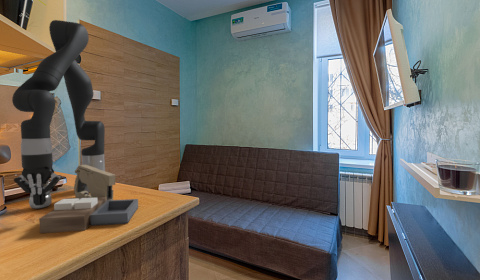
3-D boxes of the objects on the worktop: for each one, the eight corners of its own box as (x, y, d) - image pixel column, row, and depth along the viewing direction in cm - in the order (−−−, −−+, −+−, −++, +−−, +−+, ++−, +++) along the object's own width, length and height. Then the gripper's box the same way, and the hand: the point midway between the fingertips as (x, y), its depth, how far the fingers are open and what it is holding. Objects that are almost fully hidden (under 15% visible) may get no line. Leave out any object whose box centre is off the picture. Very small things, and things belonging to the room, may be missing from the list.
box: (107, 209, 87) (106, 200, 87) (138, 207, 89) (138, 198, 89) (90, 225, 74) (90, 215, 73) (127, 223, 76) (127, 213, 75)
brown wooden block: (72, 210, 86) (71, 198, 86) (107, 208, 88) (106, 197, 88) (40, 233, 68) (39, 218, 68) (84, 230, 71) (84, 215, 70)
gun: (72, 197, 100) (72, 163, 98) (80, 195, 103) (81, 162, 101) (107, 213, 89) (108, 175, 87) (115, 210, 92) (116, 174, 90)
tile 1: (63, 204, 79) (62, 199, 79) (79, 203, 80) (79, 198, 80) (54, 210, 74) (54, 204, 74) (71, 209, 75) (71, 203, 75)
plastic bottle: (38, 204, 91) (35, 154, 90) (56, 204, 92) (53, 154, 90) (24, 210, 85) (21, 157, 83) (43, 210, 85) (40, 157, 84)
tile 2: (81, 203, 80) (81, 198, 80) (97, 203, 81) (97, 197, 81) (74, 209, 75) (74, 203, 75) (91, 208, 76) (91, 202, 76)
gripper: (66, 150, 79) (68, 200, 81) (22, 151, 77) (24, 202, 78) (53, 153, 72) (55, 207, 73) (3, 154, 69) (7, 210, 71)
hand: (39, 204), depth 76 cm, fingers closed
